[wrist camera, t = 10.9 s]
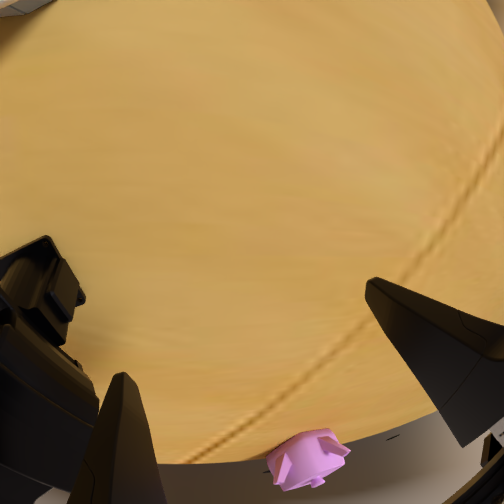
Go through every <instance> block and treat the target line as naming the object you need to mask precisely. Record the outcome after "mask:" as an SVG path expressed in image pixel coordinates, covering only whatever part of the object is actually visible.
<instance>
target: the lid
mask: <svg viewBox="0 0 504 504" xmlns="http://www.w3.org/2000/svg"><path fill="white" fill-rule="evenodd" d="M17 1H19V0H0V9H1V8H4V7H6V6H8V5H11V4H13V3H15V2H17Z"/></svg>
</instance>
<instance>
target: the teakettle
mask: <svg viewBox="0 0 504 504" xmlns="http://www.w3.org/2000/svg"><path fill="white" fill-rule="evenodd" d="M350 451H351V450H350V449H348V448H346V447H345V446H343V445H341V444H340V443H338V440H337V438H336V436H335V434H334V433H333V432H332V431H331V430H330V429H329V428H327V429H319V430H313V431H306V432H301V433H299V434H297V435H295V436H293V437H292V438H290V439H289V440H287V441H286V442H284V443H283V444H281V445H280V446H279V447H277V448H276V449H275V450H273V451H272V452H271V453H269V454H268V455H267V456H266V459H267V465H268V467H269V469H270V471H271V473H272V474H273V476H274V482H273V484H279V485H280V486H281V488H282V490H283V491H287V490H291V489H295V488H298V487H302V486H305V485H308V484H311V487H312V488H314V487H316V486H319V485H321V484H323V483H324V482H325V481H324V480H323V479H322V478H323V477H325V476H326V475H328V474H330V473H332V472H333V471H335V470H337V469H338V468H340V467H341V466H343V465H344V464H345V462H344V458H343V457H344V456H346V455H347V454H348V453H349V452H350Z"/></svg>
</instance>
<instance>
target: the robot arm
mask: <svg viewBox="0 0 504 504" xmlns="http://www.w3.org/2000/svg"><path fill="white" fill-rule="evenodd" d="M44 241H47V242H48V244H45V243H44ZM0 281H1V282H0V504H34V503H35V501H36V500H37V499H38V498H40V497H41V496H43V495H44V494H45V493H47V492H48V491H50V490H51V489H52V488H56V489H59V490H62V491H65V492H68V493H71V494H70V497H69V499H68V501H67V504H167V501H166V497H165V494H164V490H163V486H162V483H161V478H160V474H159V470H158V467H157V462H156V458H155V453H154V448H153V444H152V439H151V434H150V429H149V425H148V421H147V418H146V414H145V411H144V407H143V404H142V400H141V397H140V393H139V389H138V386H137V384H136V383H135V382H134V381H133V380H132V378H131V377H130V376H129V375H128V374H127V373H126V372H120V373H117V374H115V375H114V376H113V378H112V380H111V383H110V385H109V388H108V391H107V393H106V396H105V398H104V401H103V403H102V406H101V409H100V411H99V398H98V397H97V396H96V395H95V390H94V387H93V383H92V381H91V380H90V379H89V377H88V376H87V375H86V374H85V373H84V372H83V369H82V365H81V364H80V363H79V362H78V361H77V360H73V359H72V358H71V357H70V356H69V355H67V354H66V353H65V352H64V351H63V350H62V349H61V348H59V347H58V346H61V345H64V344H65V342H66V336H67V329H68V323H69V322H72V319H73V315H74V309H75V307H77V306H80V305H83V304H84V303H85V301H86V296H85V294H84V293H83V291H82V289H81V288H80V286H79V282H78V280H77V278H76V277H75V275H74V273H73V272H72V270H71V268H70V267H69V265H68V263H67V262H66V260H65V259H64V258H62V256H61V255H60V253H59V251H58V249H57V248H56V246H55V244H54V242H53V240H52V239H51V237H49V236H47V235H45V236H42V237H40V238H38V239H36V240H34V241H32V242H30V243H28V244H26V245H24V246H22V247H20V248H18V249H16V250H14V251H12V252H10V253H8V254H6V255H4V256H2V257H1V258H0ZM78 298H82V299H78ZM365 300H366V302H367V304H368V306H369V307H370V309H371V311H372V312H373V314H374V316H375V318H376V319H377V321H378V323H379V325H380V326H381V328H382V330H383V331H384V333H385V334H386V336H387V337H388V339H389V340H390V341H391V343H392V344H393V346H394V347H395V348H396V350H397V351H398V352H399V354H400V355H401V357H402V358H403V360H404V361H405V362H406V364H407V365H408V367H409V368H410V369H411V371H412V372H413V374H414V375H415V377H416V378H417V380H418V381H419V382H420V384H421V385H422V387H423V388H424V390H425V391H426V393H427V394H428V396H429V397H430V399H431V400H432V402H433V403H434V405H435V406H436V408H437V409H438V410H439V413H440V414H441V415H442V417H443V419H444V420H445V422H446V423H447V425H448V427H449V428H450V430H451V431H452V433H453V435H454V436H455V438H456V439H457V441H458V443H459V444H460V446H461V447H462V448H464V447H465V446H467V445H468V444H469V443H471V442H472V441H474V440H475V439H476V438H478V437H479V436H480V435H482V434H483V433H484V432H486V431H487V430H488V429H489V430H490V431H491V432H490V434H489V435H488V436H487V437H486V438H485V439H484V445H483V452H482V458H481V466H482V467H483V469H481V470H480V471H479V472H478V473H477V474H476V475H475V476H474V477H473V478H472V479H471V480H470V481H469V482H468V483H466V484H465V485H464V486H463V487H462V488H461V489H459V490H458V491H457V492H456V493H455V494H453V496H451V497H450V498H449V499H447V500H446V501H445V502H444V503H442V504H504V326H503V325H499V324H496V323H493V322H490V321H487V320H484V319H481V318H478V317H475V316H473V315H470V314H468V313H465V312H463V311H460V310H457V309H455V308H453V307H451V306H448V305H446V304H443V303H441V302H439V301H436V300H434V299H431V298H429V297H426V296H424V295H422V294H419V293H417V292H414V291H412V290H409V289H407V288H404V287H402V286H399V285H397V284H394V283H392V282H389V281H387V280H384V279H382V278H379V277H374V278H372V279H369V280H368V281H367V282H366V290H365ZM98 413H99V414H98Z"/></svg>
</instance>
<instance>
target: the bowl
mask: <svg viewBox="0 0 504 504" xmlns="http://www.w3.org/2000/svg"><path fill="white" fill-rule="evenodd" d="M51 1H53V0H19V1H17V2H15V3H13V4H11V5H8V6H6V7H4V8H1V9H0V17H6V16H15V15H25V13H27V14H28V13H30V12H32V11H33V10H35V9H37V8H39V7H41V6H43V5H45V4H47V3H49V2H51Z"/></svg>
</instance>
